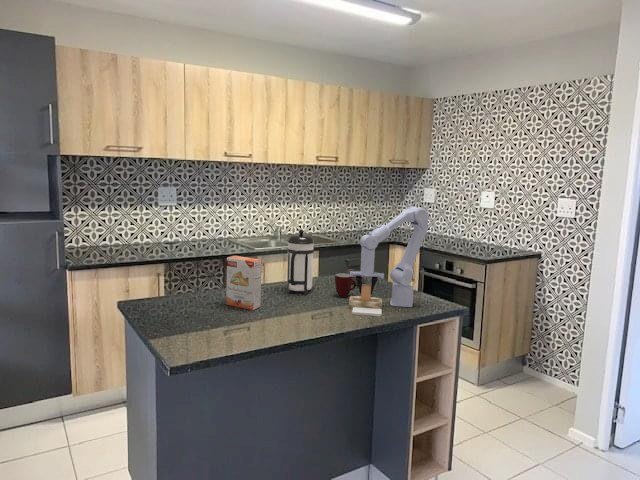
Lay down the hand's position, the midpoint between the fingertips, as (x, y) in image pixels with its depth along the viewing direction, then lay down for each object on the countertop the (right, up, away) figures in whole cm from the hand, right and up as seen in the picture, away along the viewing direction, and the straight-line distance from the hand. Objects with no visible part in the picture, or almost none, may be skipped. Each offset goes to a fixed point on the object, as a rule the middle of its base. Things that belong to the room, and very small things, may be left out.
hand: (366, 293), depth 206 cm
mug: (-8, -3, +17) cm, 19 cm away
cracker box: (-52, -5, -5) cm, 53 cm away
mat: (0, -7, -8) cm, 11 cm away
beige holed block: (0, -6, +1) cm, 6 cm away
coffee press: (-30, -2, +21) cm, 36 cm away
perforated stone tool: (-1, 0, +40) cm, 40 cm away
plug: (0, -4, +1) cm, 4 cm away
